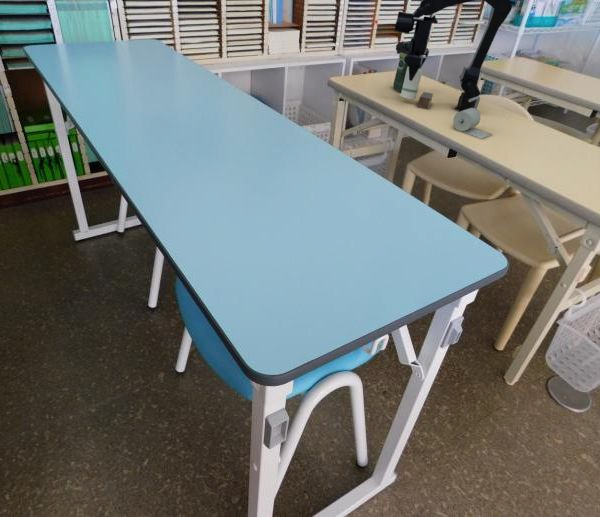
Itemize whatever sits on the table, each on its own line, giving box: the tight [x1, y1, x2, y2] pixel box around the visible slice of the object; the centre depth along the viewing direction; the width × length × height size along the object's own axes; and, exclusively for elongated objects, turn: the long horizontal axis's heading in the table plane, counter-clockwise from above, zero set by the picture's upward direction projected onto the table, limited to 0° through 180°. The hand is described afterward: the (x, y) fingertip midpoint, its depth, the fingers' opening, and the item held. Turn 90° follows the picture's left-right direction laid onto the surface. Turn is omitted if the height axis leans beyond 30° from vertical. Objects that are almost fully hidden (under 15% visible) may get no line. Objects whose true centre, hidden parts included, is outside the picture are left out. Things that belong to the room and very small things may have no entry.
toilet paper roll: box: [452, 95, 491, 139], centre depth 156 cm, size 10×11×12 cm
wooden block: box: [417, 91, 434, 110], centre depth 178 cm, size 4×8×4 cm, turn 157°
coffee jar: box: [392, 51, 409, 93], centre depth 189 cm, size 10×8×19 cm
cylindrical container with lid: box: [400, 67, 424, 100], centre depth 176 cm, size 12×6×12 cm
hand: (412, 78), depth 176 cm, fingers closed on cylindrical container with lid, 6 cm apart
